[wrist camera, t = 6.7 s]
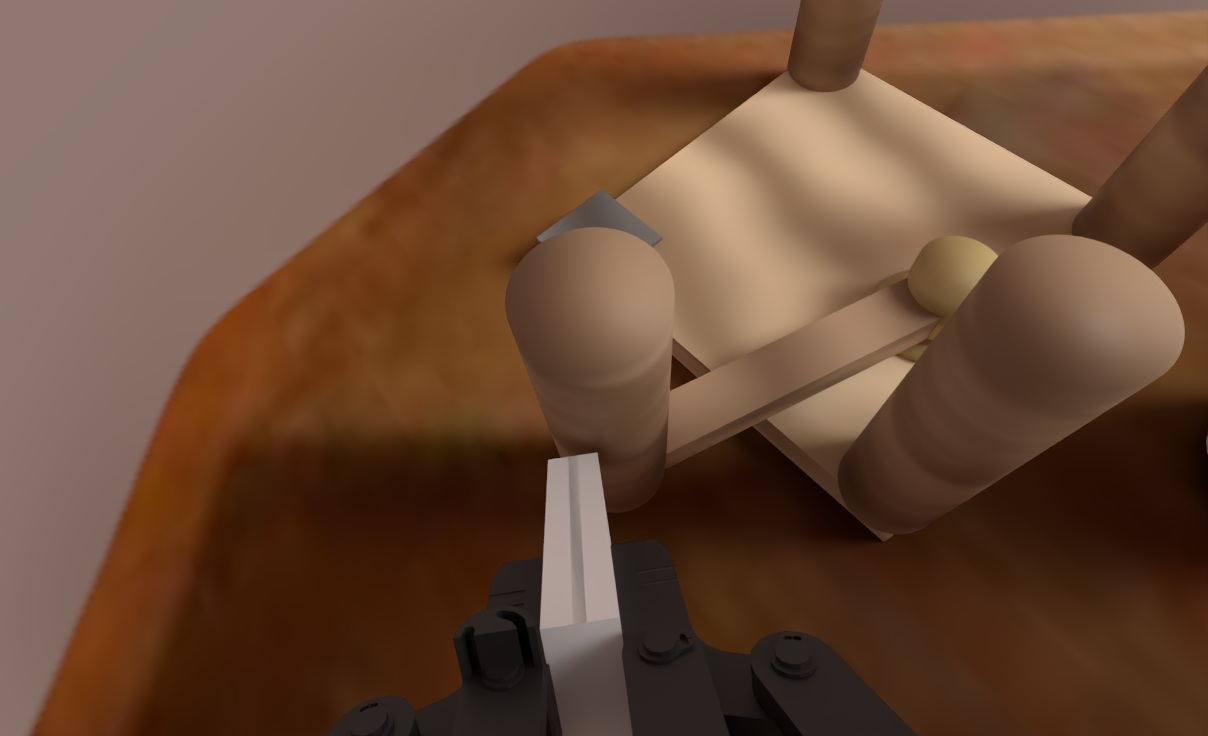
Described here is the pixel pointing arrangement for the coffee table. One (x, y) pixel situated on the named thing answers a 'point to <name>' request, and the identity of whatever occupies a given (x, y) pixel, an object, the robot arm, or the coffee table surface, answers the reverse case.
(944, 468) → the stool seat
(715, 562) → the coffee table surface
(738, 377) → the hinged leg
